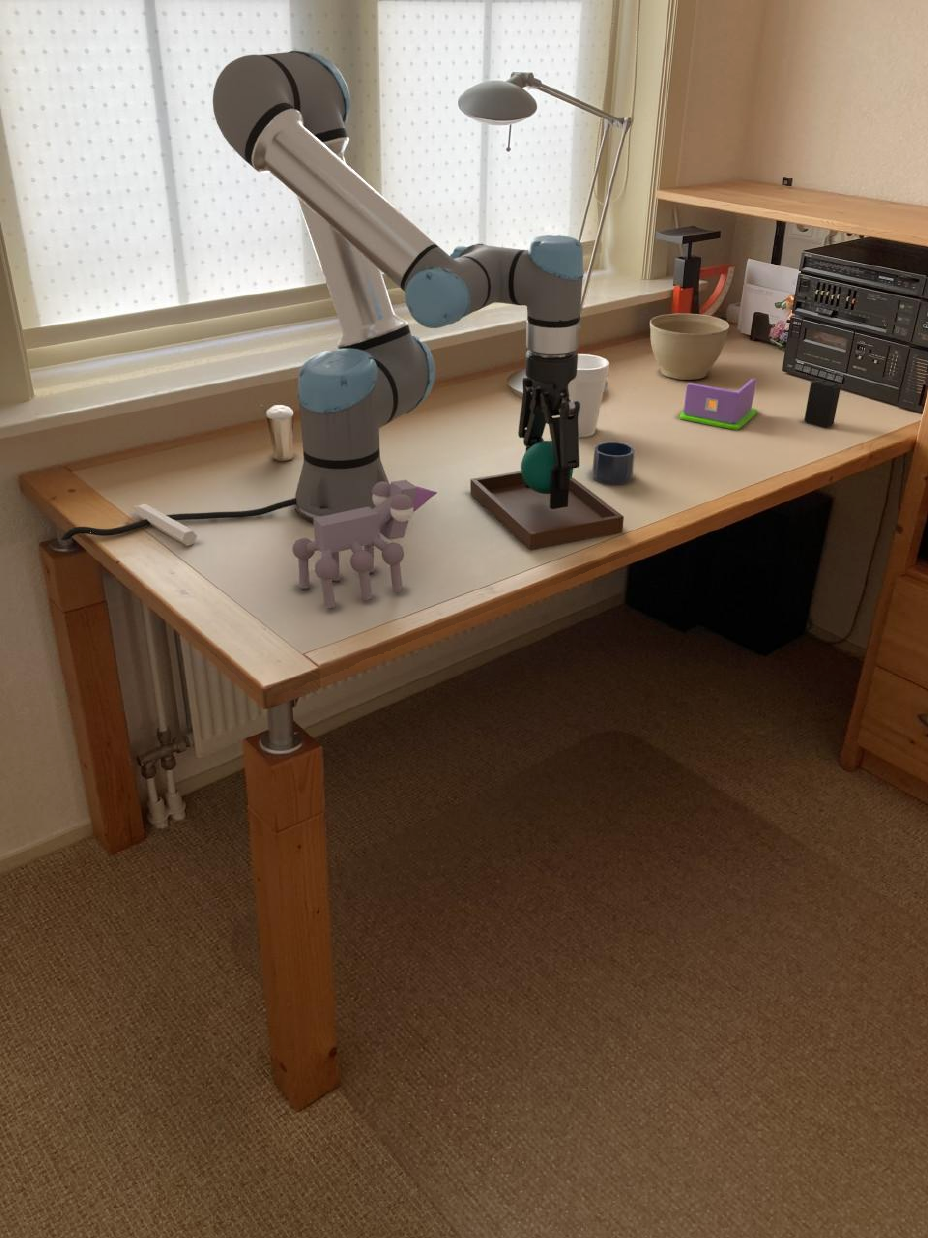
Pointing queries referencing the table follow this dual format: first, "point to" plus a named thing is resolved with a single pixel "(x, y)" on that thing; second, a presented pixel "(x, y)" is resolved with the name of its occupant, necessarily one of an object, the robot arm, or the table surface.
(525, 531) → the tray
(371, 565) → the toy sheep
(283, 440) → the milkshake
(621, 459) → the cup
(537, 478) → the ball
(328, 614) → the table surface
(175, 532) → the marker
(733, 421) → the toy room diorama
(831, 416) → the ink cartridge
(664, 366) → the planter bowl
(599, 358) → the foam cup
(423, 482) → the table surface
